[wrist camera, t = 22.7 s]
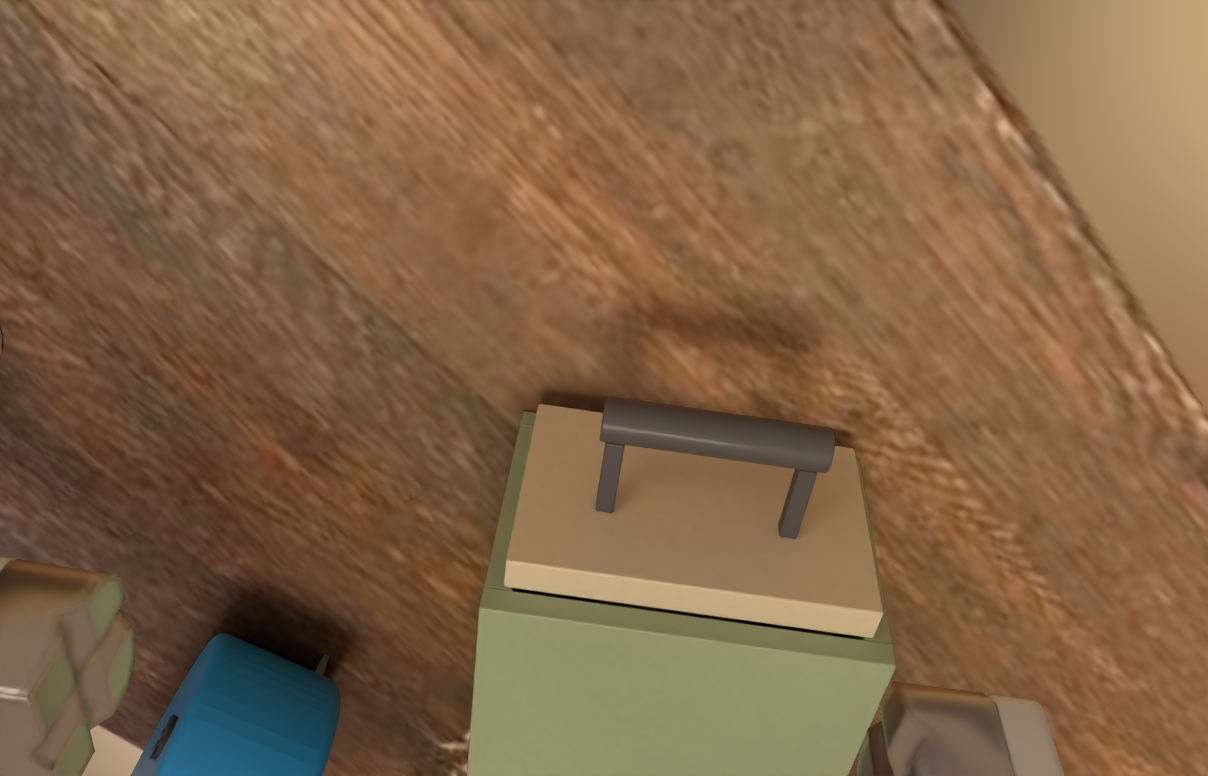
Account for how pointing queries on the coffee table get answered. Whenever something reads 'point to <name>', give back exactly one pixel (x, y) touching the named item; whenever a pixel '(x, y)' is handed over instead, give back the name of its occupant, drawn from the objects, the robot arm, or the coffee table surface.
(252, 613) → the coffee table surface
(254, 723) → the alarm clock
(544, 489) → the drawer
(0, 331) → the figurine
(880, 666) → the cabinet
